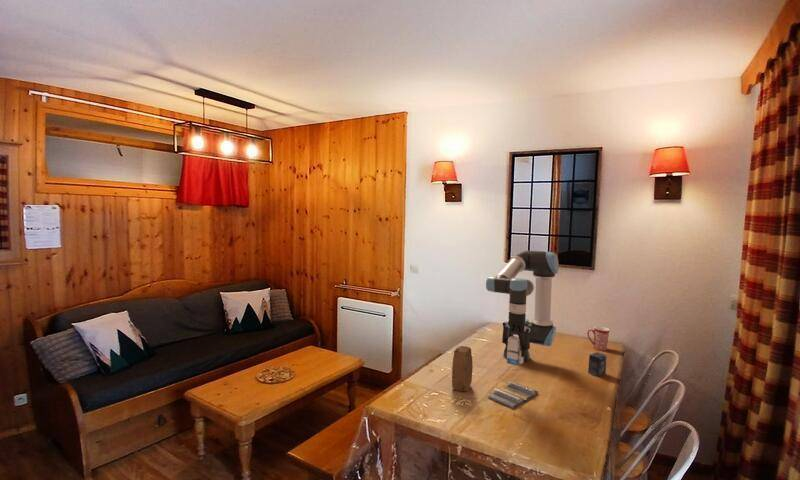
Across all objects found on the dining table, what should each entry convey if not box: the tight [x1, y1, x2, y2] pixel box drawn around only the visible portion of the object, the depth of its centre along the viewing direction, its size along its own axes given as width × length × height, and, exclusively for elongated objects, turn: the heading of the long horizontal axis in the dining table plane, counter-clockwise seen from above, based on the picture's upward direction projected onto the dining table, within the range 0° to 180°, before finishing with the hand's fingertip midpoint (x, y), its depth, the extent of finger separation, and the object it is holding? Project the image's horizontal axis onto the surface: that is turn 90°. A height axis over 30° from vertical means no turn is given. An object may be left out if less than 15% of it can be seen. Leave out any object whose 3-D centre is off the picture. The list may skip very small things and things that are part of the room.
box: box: [587, 351, 608, 377], centre depth 211 cm, size 8×6×11 cm
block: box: [451, 345, 474, 392], centre depth 189 cm, size 11×8×20 cm
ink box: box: [506, 335, 521, 366], centre depth 181 cm, size 9×5×12 cm, turn 143°
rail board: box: [487, 381, 539, 410], centre depth 182 cm, size 13×22×3 cm, turn 132°
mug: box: [586, 326, 610, 352], centre depth 251 cm, size 13×9×14 cm
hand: (514, 361), depth 181 cm, fingers closed on ink box, 6 cm apart
